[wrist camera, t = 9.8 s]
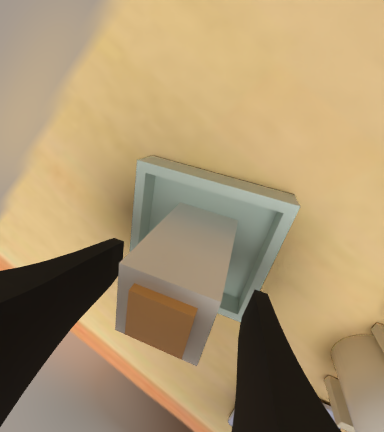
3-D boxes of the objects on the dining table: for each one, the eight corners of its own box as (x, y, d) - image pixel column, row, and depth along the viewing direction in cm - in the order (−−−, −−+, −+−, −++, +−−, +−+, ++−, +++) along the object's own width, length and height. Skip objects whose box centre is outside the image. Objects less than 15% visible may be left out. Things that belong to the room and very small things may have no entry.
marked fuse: (221, 267, 15) (194, 376, 9) (171, 249, 16) (109, 337, 9) (238, 220, 13) (219, 311, 7) (180, 202, 14) (112, 269, 7)
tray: (245, 302, 16) (243, 323, 15) (140, 262, 18) (127, 277, 16) (294, 194, 12) (300, 206, 10) (152, 155, 14) (137, 159, 12)
